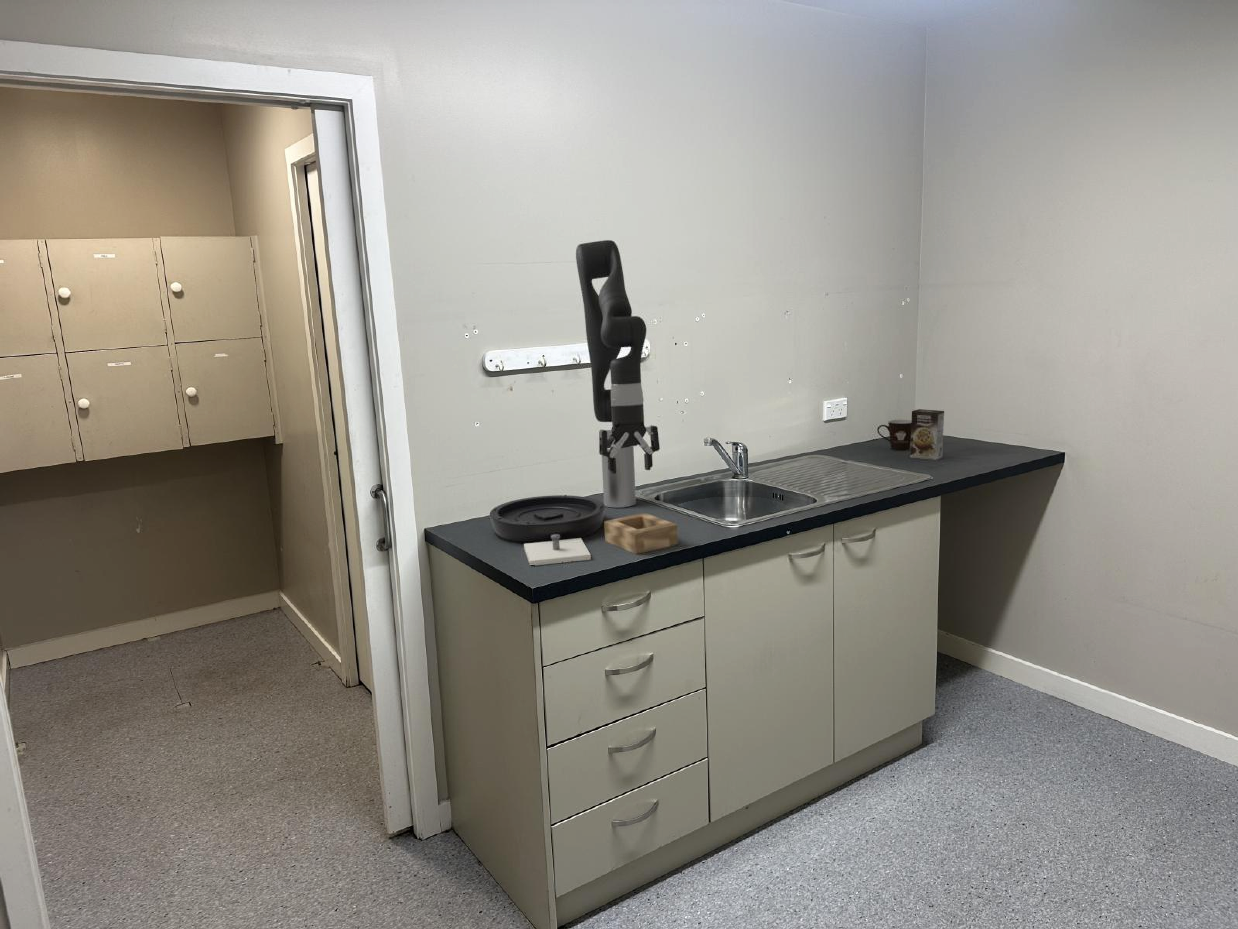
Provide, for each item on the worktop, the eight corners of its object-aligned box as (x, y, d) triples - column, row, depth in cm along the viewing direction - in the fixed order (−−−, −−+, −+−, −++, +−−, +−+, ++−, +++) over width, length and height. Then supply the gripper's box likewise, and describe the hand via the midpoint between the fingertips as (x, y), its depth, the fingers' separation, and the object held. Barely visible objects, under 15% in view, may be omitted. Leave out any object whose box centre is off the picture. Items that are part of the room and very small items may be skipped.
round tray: (564, 508, 245) (470, 529, 227) (563, 488, 243) (469, 508, 226) (628, 529, 221) (529, 554, 204) (627, 506, 220) (528, 530, 202)
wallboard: (524, 548, 207) (522, 530, 206) (580, 542, 210) (580, 525, 209) (530, 566, 194) (529, 547, 193) (590, 559, 196) (589, 540, 195)
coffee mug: (916, 448, 307) (917, 420, 305) (906, 452, 300) (907, 424, 298) (886, 445, 314) (886, 418, 312) (875, 449, 308) (876, 421, 306)
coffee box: (909, 457, 291) (910, 411, 288) (916, 454, 296) (917, 408, 292) (936, 460, 285) (937, 412, 282) (943, 457, 290) (944, 410, 287)
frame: (605, 540, 210) (604, 521, 210) (645, 531, 217) (644, 512, 216) (635, 554, 199) (635, 533, 198) (677, 544, 205) (677, 524, 204)
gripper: (650, 400, 205) (653, 467, 207) (593, 404, 200) (597, 472, 203) (661, 401, 198) (664, 470, 200) (602, 405, 193) (606, 476, 196)
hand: (630, 471), depth 201 cm, fingers open, 8 cm apart
